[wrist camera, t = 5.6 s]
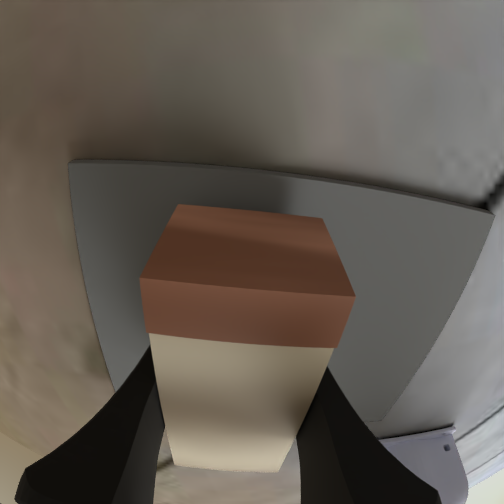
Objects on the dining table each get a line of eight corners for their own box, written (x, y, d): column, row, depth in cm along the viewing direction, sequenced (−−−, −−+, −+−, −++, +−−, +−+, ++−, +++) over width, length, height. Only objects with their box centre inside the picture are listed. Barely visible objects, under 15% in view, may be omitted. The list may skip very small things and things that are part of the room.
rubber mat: (489, 210, 12) (495, 215, 12) (379, 415, 20) (381, 420, 20) (73, 159, 11) (67, 163, 10) (123, 402, 19) (121, 408, 19)
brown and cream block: (275, 402, 15) (278, 473, 12) (184, 395, 15) (173, 465, 12) (322, 218, 10) (355, 296, 7) (177, 204, 10) (139, 277, 7)
